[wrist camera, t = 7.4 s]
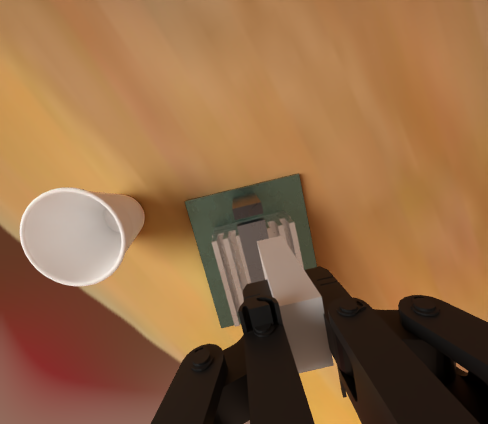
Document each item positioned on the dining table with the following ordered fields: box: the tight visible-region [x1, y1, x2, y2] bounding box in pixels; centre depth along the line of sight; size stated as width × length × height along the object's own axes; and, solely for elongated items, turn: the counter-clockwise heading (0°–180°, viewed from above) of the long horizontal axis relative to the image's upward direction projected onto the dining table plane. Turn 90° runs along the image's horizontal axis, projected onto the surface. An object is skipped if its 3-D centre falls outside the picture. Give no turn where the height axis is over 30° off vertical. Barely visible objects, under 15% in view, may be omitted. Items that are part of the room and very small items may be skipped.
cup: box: [20, 188, 145, 286], centre depth 29 cm, size 10×10×11 cm
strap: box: [237, 217, 269, 283], centre depth 28 cm, size 15×3×1 cm, turn 13°
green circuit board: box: [185, 174, 317, 328], centre depth 31 cm, size 20×16×10 cm
